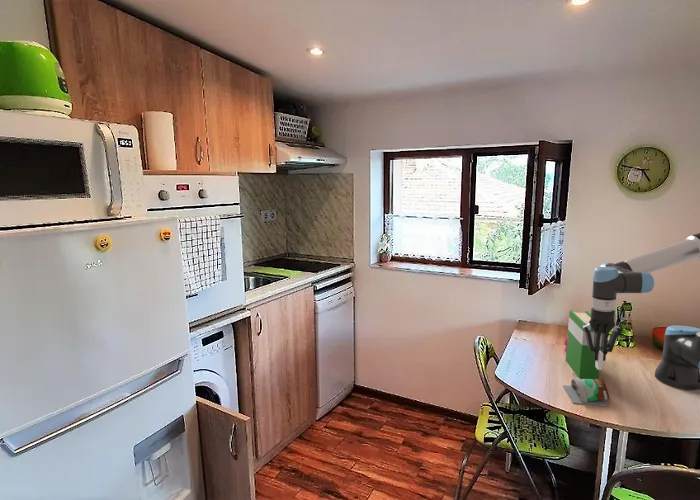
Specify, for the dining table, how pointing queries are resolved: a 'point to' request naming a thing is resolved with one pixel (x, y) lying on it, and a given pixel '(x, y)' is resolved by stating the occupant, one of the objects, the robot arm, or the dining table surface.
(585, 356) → the hardback book
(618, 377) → the dining table surface
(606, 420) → the dining table surface
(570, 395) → the mat
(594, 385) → the food container
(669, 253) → the robot arm
